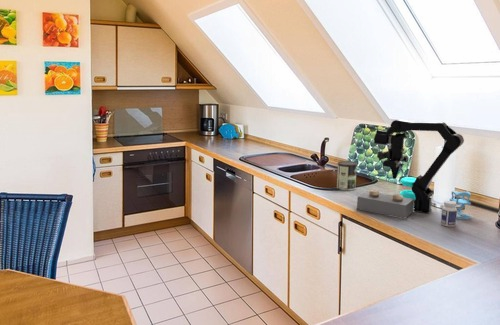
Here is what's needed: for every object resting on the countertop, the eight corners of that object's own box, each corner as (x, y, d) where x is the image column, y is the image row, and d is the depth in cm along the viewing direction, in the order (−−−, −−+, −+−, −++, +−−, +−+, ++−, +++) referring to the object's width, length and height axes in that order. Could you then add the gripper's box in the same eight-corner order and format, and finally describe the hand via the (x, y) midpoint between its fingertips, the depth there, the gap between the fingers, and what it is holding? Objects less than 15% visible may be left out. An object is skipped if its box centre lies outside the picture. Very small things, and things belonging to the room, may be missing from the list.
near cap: (403, 209, 197) (404, 195, 196) (400, 211, 193) (401, 197, 192) (393, 207, 200) (394, 193, 198) (390, 210, 196) (391, 196, 195)
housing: (412, 211, 198) (413, 199, 197) (404, 218, 189) (405, 205, 188) (366, 202, 211) (367, 191, 210) (356, 208, 202) (357, 196, 201)
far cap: (379, 204, 203) (380, 191, 202) (376, 207, 200) (377, 193, 199) (370, 203, 206) (371, 189, 205) (367, 205, 203) (367, 191, 201)
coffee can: (354, 185, 242) (356, 161, 239) (356, 190, 232) (357, 165, 229) (336, 185, 244) (337, 160, 241) (336, 189, 234) (338, 164, 231)
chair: (463, 213, 197) (465, 187, 194) (471, 219, 189) (474, 192, 186) (445, 213, 197) (448, 187, 195) (453, 219, 189) (456, 192, 186)
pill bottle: (456, 224, 183) (458, 201, 181) (454, 228, 178) (457, 205, 176) (441, 221, 185) (443, 199, 183) (439, 225, 181) (441, 202, 179)
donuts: (400, 176, 224) (420, 177, 221) (398, 194, 226) (418, 196, 223) (402, 180, 214) (423, 182, 212) (400, 200, 216) (421, 201, 214)
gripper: (387, 142, 214) (384, 172, 218) (372, 147, 200) (370, 180, 203) (409, 144, 208) (407, 175, 211) (396, 149, 193) (394, 183, 196)
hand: (394, 178), depth 205 cm, fingers closed
